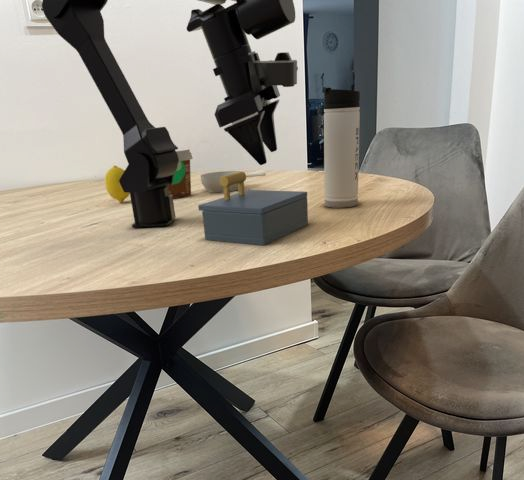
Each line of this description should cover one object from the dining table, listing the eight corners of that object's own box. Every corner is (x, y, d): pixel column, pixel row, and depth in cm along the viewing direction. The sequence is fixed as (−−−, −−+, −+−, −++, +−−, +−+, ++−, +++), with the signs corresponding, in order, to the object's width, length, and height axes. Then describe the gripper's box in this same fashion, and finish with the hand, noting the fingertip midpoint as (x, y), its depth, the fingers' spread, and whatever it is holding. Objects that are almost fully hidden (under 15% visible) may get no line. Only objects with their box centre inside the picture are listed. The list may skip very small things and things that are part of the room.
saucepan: (221, 184, 132) (219, 169, 130) (278, 187, 122) (278, 170, 120) (192, 191, 124) (190, 175, 122) (252, 195, 114) (250, 177, 113)
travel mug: (317, 204, 99) (316, 88, 90) (348, 200, 101) (350, 86, 92) (330, 209, 94) (330, 87, 85) (363, 205, 95) (366, 85, 87)
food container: (137, 200, 117) (129, 154, 113) (148, 196, 123) (141, 151, 118) (187, 199, 114) (181, 152, 110) (196, 194, 120) (191, 149, 115)
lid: (198, 210, 78) (195, 180, 76) (248, 194, 88) (246, 167, 86) (261, 214, 72) (259, 181, 70) (307, 196, 82) (306, 168, 80)
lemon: (127, 204, 114) (120, 166, 110) (104, 205, 115) (97, 167, 112) (137, 199, 119) (131, 163, 115) (115, 200, 120) (109, 164, 116)
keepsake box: (205, 239, 79) (201, 211, 77) (253, 220, 90) (251, 194, 88) (263, 245, 74) (261, 214, 72) (308, 224, 84) (307, 197, 82)
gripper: (270, 30, 65) (309, 152, 72) (291, 28, 80) (322, 128, 87) (194, 66, 69) (238, 178, 76) (228, 57, 84) (263, 151, 91)
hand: (269, 157), depth 82 cm, fingers open, 9 cm apart
